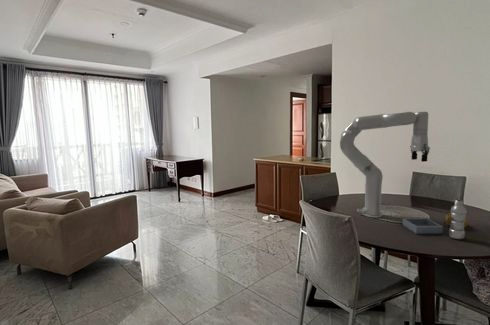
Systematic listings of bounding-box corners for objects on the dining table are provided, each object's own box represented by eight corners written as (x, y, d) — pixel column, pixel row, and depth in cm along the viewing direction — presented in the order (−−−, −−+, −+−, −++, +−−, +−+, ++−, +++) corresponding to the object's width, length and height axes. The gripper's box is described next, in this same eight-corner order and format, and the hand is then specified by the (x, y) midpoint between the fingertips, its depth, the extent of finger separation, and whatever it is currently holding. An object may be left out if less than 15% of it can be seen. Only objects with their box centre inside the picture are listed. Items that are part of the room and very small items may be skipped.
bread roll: (441, 221, 171) (442, 208, 170) (461, 222, 168) (461, 209, 167) (448, 228, 159) (449, 214, 158) (469, 230, 156) (470, 216, 155)
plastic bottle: (457, 235, 150) (460, 198, 147) (467, 240, 143) (470, 201, 140) (445, 235, 149) (447, 198, 147) (455, 241, 143) (458, 202, 140)
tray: (416, 234, 153) (416, 227, 152) (402, 225, 166) (402, 218, 166) (442, 233, 152) (443, 226, 152) (426, 224, 166) (427, 218, 166)
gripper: (405, 132, 181) (404, 159, 183) (423, 133, 164) (422, 162, 166) (417, 131, 181) (416, 158, 183) (436, 132, 164) (434, 161, 166)
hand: (419, 160), depth 175 cm, fingers open, 9 cm apart
